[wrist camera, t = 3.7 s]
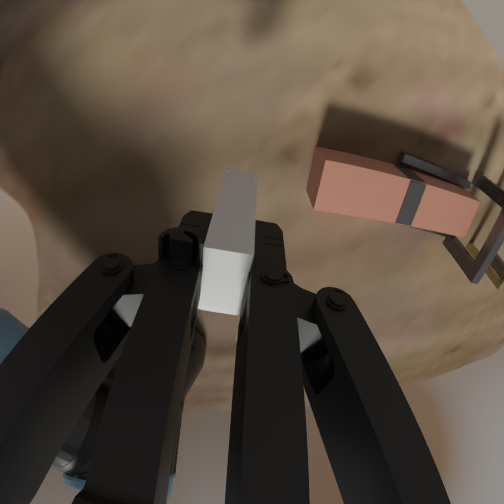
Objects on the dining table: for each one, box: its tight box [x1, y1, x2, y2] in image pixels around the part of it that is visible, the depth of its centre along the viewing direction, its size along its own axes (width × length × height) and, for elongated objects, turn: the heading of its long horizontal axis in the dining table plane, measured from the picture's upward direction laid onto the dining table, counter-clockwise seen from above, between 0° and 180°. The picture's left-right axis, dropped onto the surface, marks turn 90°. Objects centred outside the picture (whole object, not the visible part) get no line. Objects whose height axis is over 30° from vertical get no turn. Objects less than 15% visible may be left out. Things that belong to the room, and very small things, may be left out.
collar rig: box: [399, 151, 504, 290], centre depth 21 cm, size 19×9×8 cm, turn 80°
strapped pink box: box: [306, 146, 480, 238], centre depth 22 cm, size 16×4×4 cm, turn 83°
